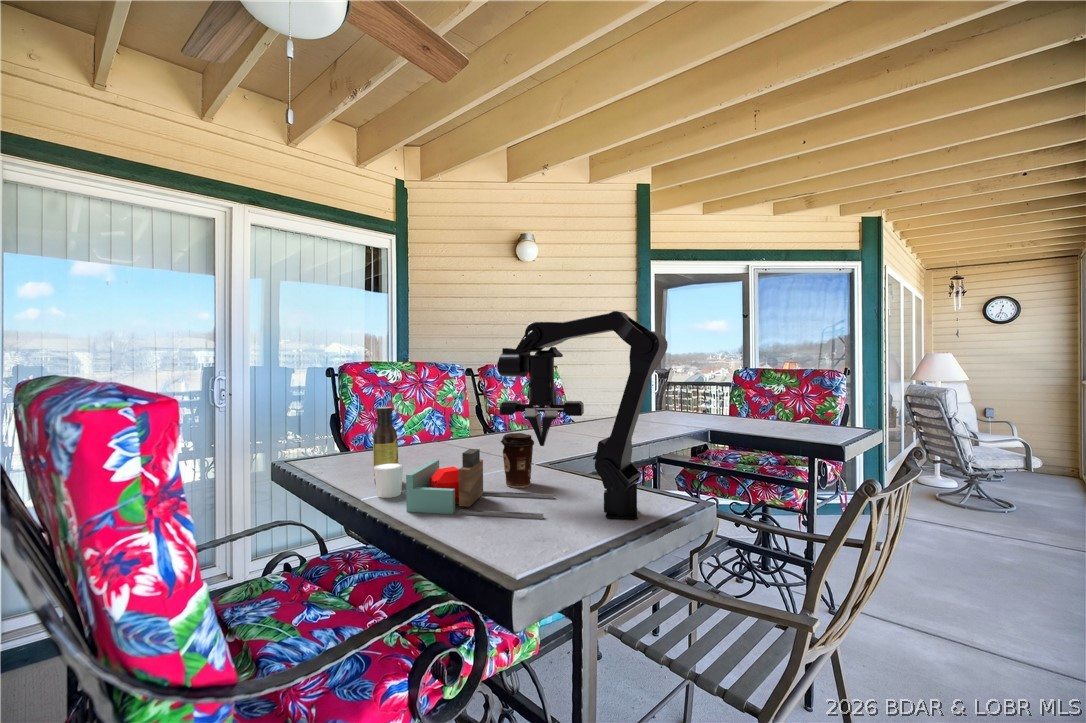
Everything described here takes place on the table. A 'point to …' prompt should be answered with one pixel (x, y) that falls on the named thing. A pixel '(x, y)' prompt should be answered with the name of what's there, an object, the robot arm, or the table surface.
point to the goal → (427, 492)
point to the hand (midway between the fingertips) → (542, 445)
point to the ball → (446, 480)
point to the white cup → (388, 479)
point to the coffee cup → (517, 459)
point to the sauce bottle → (385, 438)
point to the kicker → (470, 477)
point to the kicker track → (508, 514)
